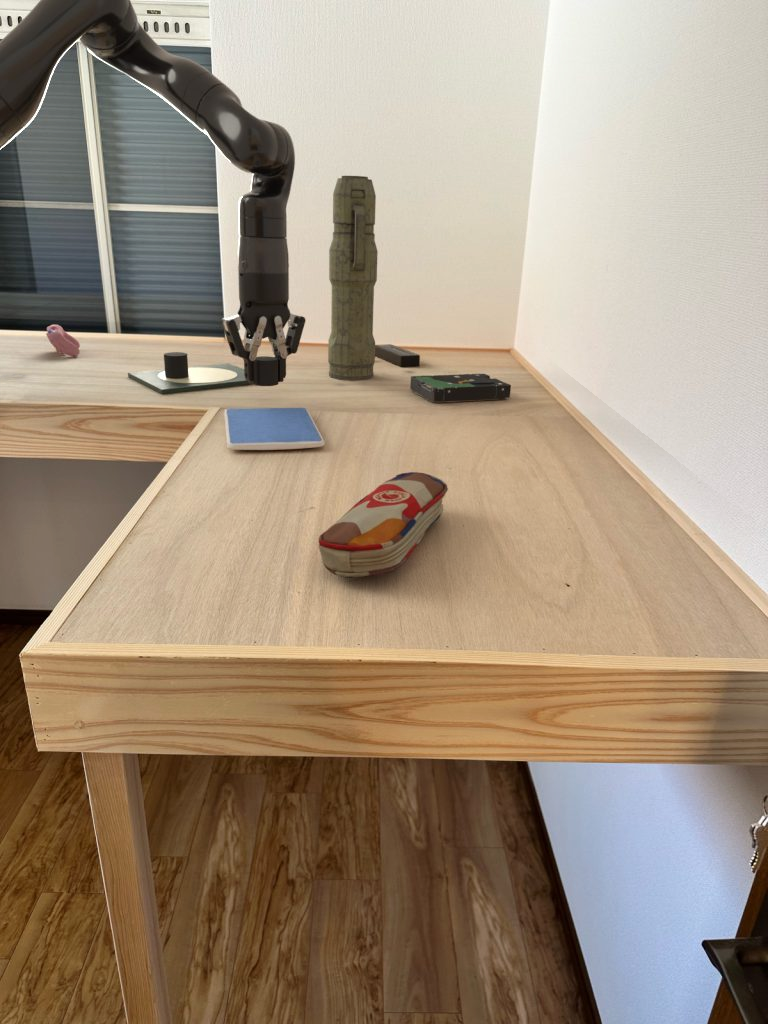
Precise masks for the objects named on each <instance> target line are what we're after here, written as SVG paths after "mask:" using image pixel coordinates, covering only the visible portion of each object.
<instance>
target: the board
mask: <svg viewBox="0 0 768 1024" xmlns="http://www.w3.org/2000/svg"><path fill="white" fill-rule="evenodd" d="M188 374H189V376H188V377H187V378H182V379H170V378H166V377H165V368H164V369H152V370H142V371H140V370H139V371H130V372H127V377H128V378H129V379H131V380H133V381H135V382H138V383H139V384H141V385H143V386H145V387H146V388H149V389H150V390H153V391H155V392H157V393H158V394H161V395H167V394H168V393H169V394H176V393H177V392H178V393H185V392H186V391H187V392H194V391H193V390H196V391H203V390H204V389H205V390H213V389H221V388H230V387H239V386H248V385H251V384H249V383H248V381H247V380H246V379H245V377H244V368H242V367H239V366H237V365H234V364H231V363H219V364H210V365H209V364H208V365H207V364H206V365H198V366H197V365H195V366H188ZM187 392H186V393H187Z"/></svg>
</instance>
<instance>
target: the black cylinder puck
mask: <svg viewBox="0 0 768 1024" xmlns="http://www.w3.org/2000/svg"><path fill="white" fill-rule="evenodd" d="M255 361H257V362H258V384H256V385H255V386H258V387H274V386H278V385H279V382H278V358H275V356H265V355H264V356H261V355H260V356H257V357H256V359H255Z"/></svg>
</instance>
